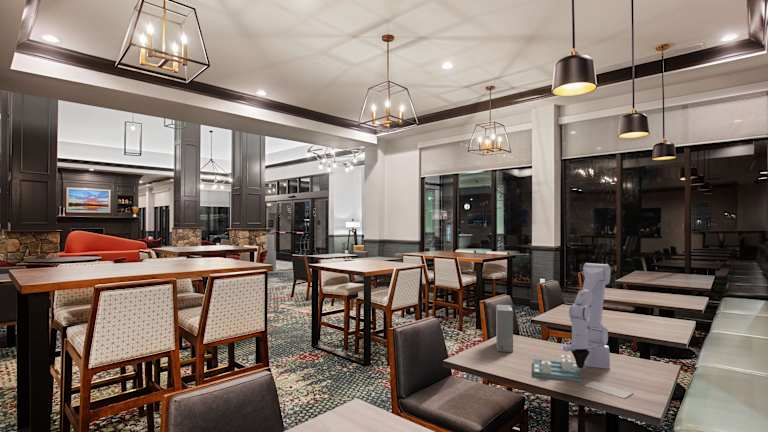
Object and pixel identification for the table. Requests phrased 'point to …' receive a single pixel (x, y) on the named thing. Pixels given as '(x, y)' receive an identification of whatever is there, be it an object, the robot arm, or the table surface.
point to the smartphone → (608, 390)
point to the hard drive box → (504, 328)
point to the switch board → (557, 371)
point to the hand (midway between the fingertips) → (580, 367)
